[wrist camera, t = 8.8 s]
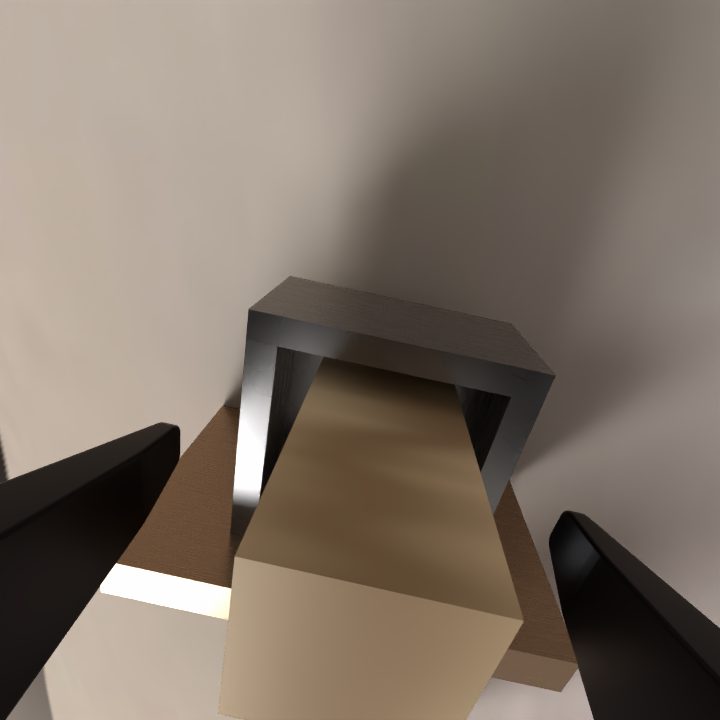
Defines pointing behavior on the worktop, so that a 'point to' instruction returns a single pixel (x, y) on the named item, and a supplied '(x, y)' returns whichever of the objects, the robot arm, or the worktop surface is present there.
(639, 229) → the worktop surface
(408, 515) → the rail end
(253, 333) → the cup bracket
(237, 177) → the worktop surface
